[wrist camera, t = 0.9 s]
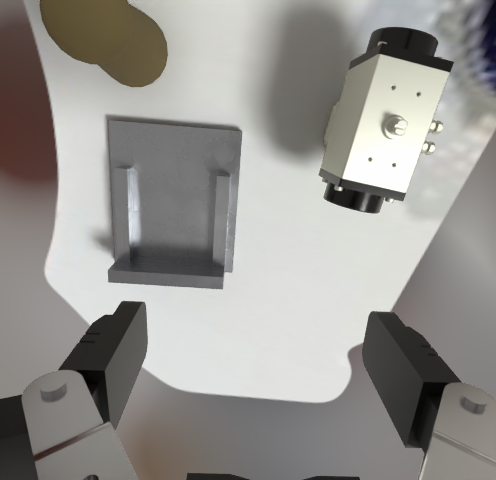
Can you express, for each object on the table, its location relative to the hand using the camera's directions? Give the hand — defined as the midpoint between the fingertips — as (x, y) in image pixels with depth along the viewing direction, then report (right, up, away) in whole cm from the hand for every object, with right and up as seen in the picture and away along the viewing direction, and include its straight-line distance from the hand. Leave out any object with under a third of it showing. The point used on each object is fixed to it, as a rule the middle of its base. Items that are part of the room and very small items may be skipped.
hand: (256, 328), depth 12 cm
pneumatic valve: (+9, +14, +20) cm, 26 cm away
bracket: (-7, +7, +22) cm, 24 cm away
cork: (-10, +20, +18) cm, 29 cm away
